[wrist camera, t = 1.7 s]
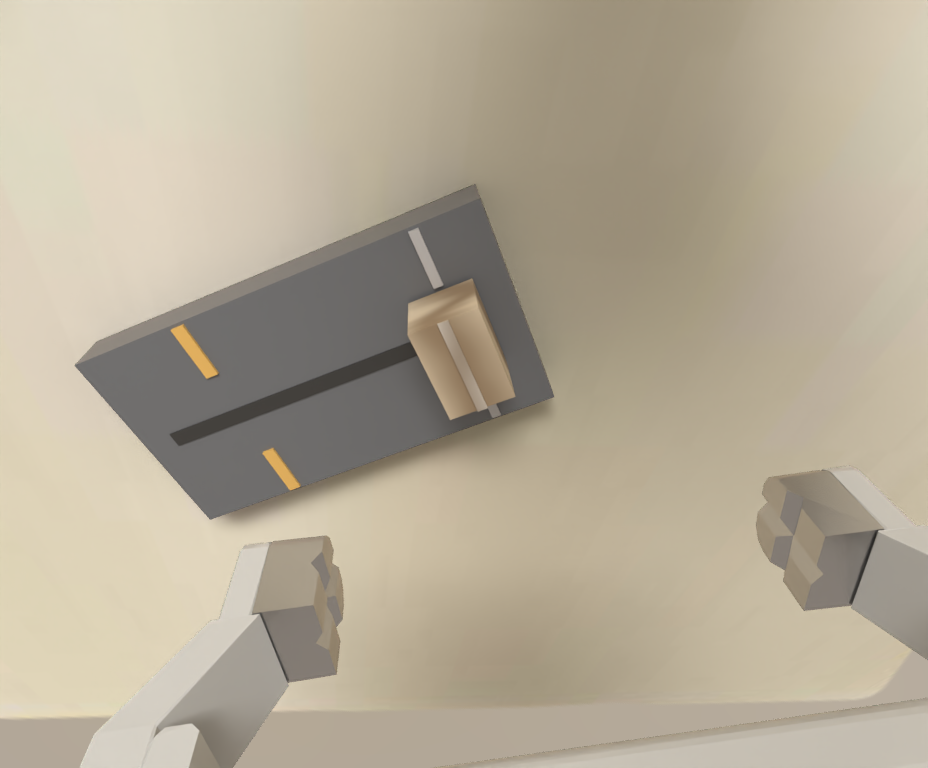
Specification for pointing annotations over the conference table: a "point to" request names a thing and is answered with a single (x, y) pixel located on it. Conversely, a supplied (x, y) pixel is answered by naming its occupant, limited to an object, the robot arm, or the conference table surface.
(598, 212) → the conference table surface
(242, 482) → the fader console
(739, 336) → the conference table surface
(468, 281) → the fader tab
